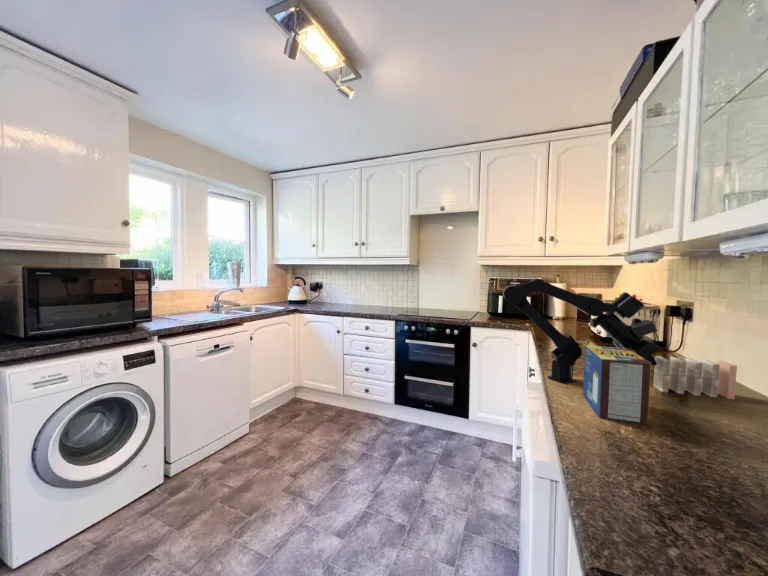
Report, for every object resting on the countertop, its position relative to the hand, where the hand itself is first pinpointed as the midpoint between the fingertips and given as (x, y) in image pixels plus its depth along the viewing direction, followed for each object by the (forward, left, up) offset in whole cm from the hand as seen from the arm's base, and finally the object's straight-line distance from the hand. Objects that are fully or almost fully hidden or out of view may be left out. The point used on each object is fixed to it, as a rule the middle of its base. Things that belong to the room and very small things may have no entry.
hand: (655, 364), depth 100 cm
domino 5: (+14, -11, -8) cm, 19 cm away
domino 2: (+5, -4, -8) cm, 10 cm away
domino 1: (+1, -1, -8) cm, 8 cm away
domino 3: (+8, -6, -8) cm, 13 cm away
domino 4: (+11, -9, -8) cm, 16 cm away
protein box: (-28, -4, -8) cm, 29 cm away
